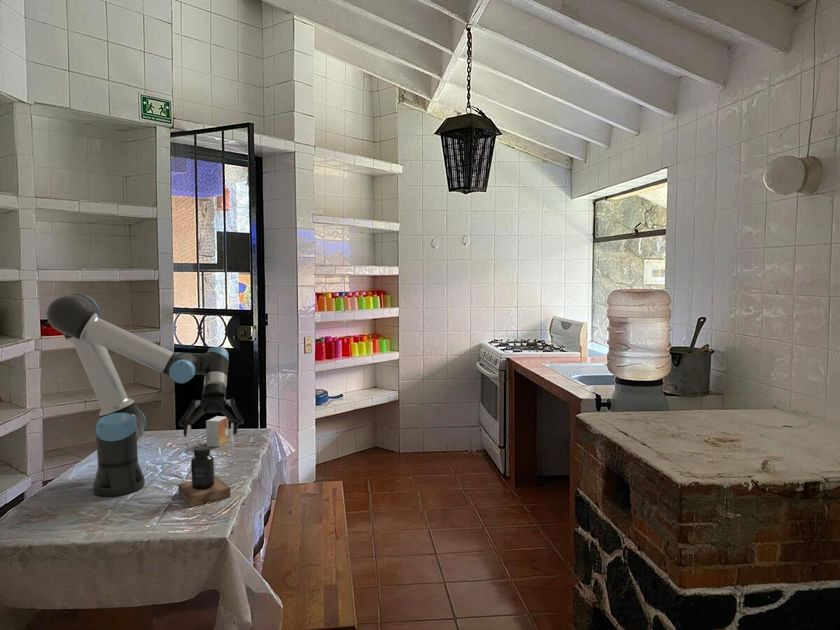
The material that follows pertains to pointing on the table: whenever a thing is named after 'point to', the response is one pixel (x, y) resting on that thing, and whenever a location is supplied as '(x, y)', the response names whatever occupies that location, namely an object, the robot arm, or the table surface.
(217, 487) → the brown flat block
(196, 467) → the supplement bottle
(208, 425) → the small box
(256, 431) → the table surface
